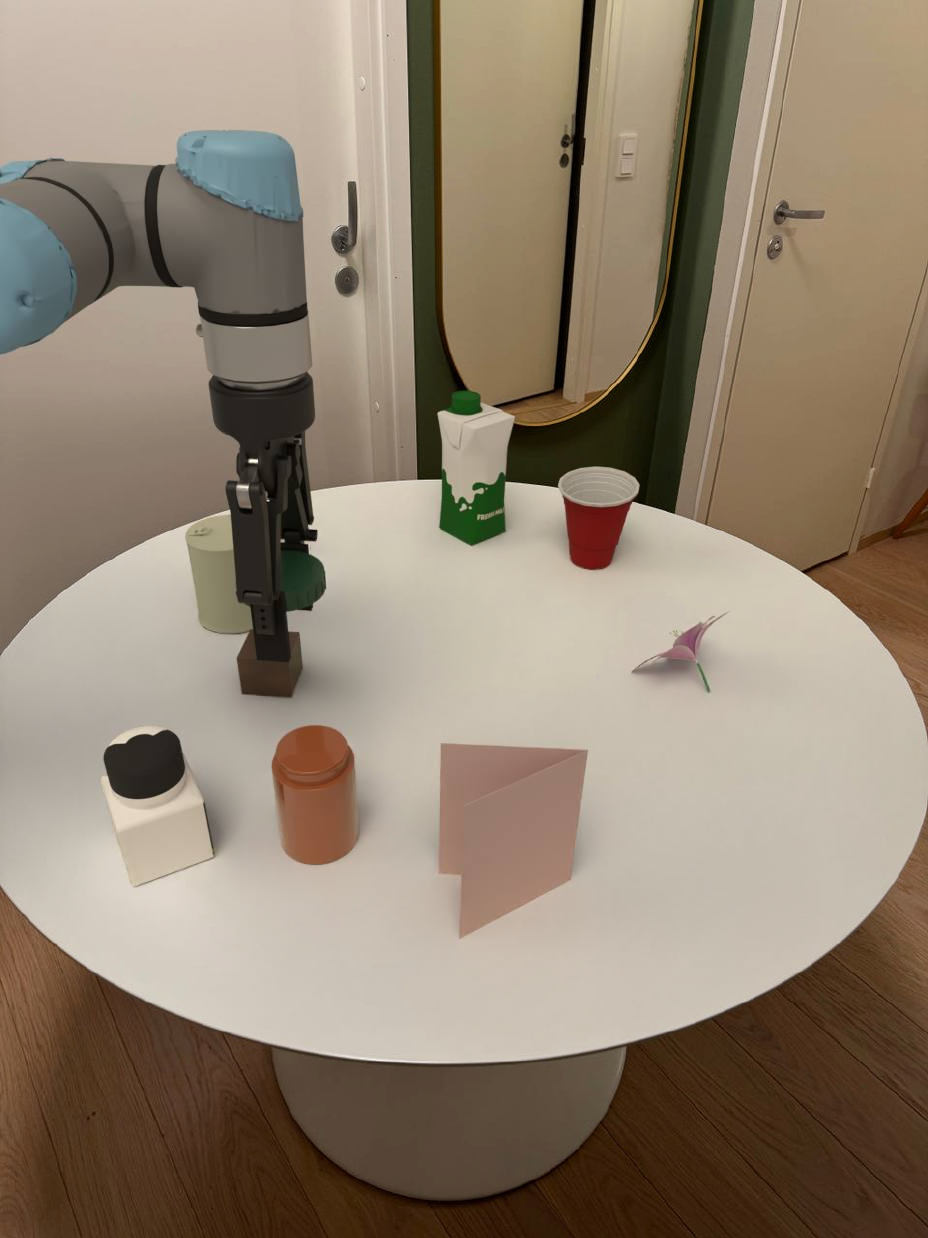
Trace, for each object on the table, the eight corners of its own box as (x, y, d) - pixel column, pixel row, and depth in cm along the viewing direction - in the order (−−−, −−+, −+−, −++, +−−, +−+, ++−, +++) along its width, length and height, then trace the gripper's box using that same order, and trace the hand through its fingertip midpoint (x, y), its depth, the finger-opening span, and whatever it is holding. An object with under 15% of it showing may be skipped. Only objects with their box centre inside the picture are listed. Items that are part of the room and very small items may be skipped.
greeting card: (569, 871, 77) (587, 742, 68) (575, 944, 70) (595, 812, 62) (439, 865, 77) (441, 735, 69) (433, 937, 71) (435, 804, 62)
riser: (241, 694, 96) (236, 657, 93) (255, 664, 101) (250, 628, 98) (291, 698, 96) (287, 661, 93) (303, 667, 100) (299, 631, 98)
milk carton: (473, 511, 135) (477, 384, 124) (514, 532, 130) (523, 401, 118) (430, 528, 130) (430, 397, 119) (471, 550, 124) (476, 416, 113)
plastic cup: (535, 557, 123) (541, 479, 117) (585, 534, 130) (594, 459, 123) (593, 588, 117) (603, 507, 110) (644, 562, 123) (656, 484, 116)
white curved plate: (312, 560, 121) (310, 540, 119) (253, 565, 119) (250, 546, 118) (309, 547, 124) (308, 528, 122) (252, 552, 122) (249, 533, 121)
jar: (272, 862, 77) (259, 773, 71) (291, 804, 82) (281, 718, 77) (351, 868, 76) (345, 779, 70) (364, 809, 82) (360, 723, 76)
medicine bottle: (216, 858, 77) (196, 756, 70) (132, 889, 74) (103, 786, 67) (193, 806, 82) (173, 706, 75) (114, 833, 79) (86, 732, 72)
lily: (721, 657, 106) (697, 585, 104) (773, 680, 95) (747, 601, 92) (634, 698, 105) (607, 627, 103) (676, 727, 93) (647, 648, 91)
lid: (334, 571, 77) (333, 553, 76) (314, 616, 71) (313, 597, 70) (252, 564, 77) (250, 546, 76) (225, 609, 71) (222, 590, 70)
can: (200, 596, 112) (187, 512, 106) (273, 591, 114) (264, 508, 107) (195, 637, 105) (180, 549, 98) (273, 631, 106) (264, 544, 100)
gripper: (250, 332, 72) (275, 571, 85) (157, 419, 56) (205, 700, 68) (339, 337, 72) (351, 576, 85) (273, 426, 55) (300, 708, 68)
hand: (286, 631), depth 76 cm, fingers closed on lid, 7 cm apart
